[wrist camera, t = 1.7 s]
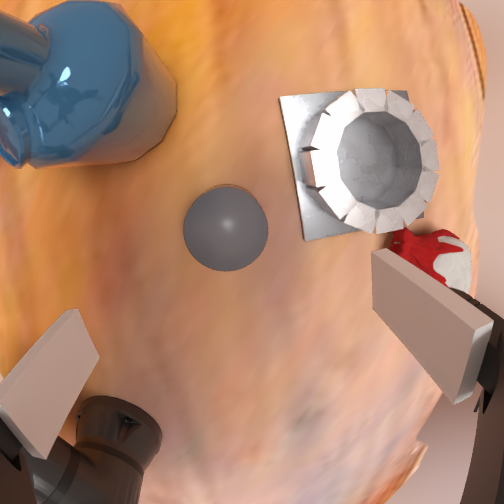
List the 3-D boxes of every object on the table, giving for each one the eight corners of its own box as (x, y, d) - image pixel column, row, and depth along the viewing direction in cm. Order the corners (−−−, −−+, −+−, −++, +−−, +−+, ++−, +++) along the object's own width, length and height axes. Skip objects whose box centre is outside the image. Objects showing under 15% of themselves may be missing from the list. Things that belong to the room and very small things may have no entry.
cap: (200, 258, 33) (194, 278, 28) (185, 192, 31) (174, 198, 26) (267, 245, 34) (274, 262, 28) (254, 177, 31) (259, 180, 26)
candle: (426, 318, 38) (352, 270, 37) (466, 254, 35) (398, 195, 34) (456, 347, 29) (376, 296, 28) (504, 271, 26) (433, 201, 25)
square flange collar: (303, 239, 34) (317, 254, 28) (278, 98, 29) (288, 85, 23) (420, 216, 34) (447, 226, 28) (403, 91, 29) (430, 83, 23)
